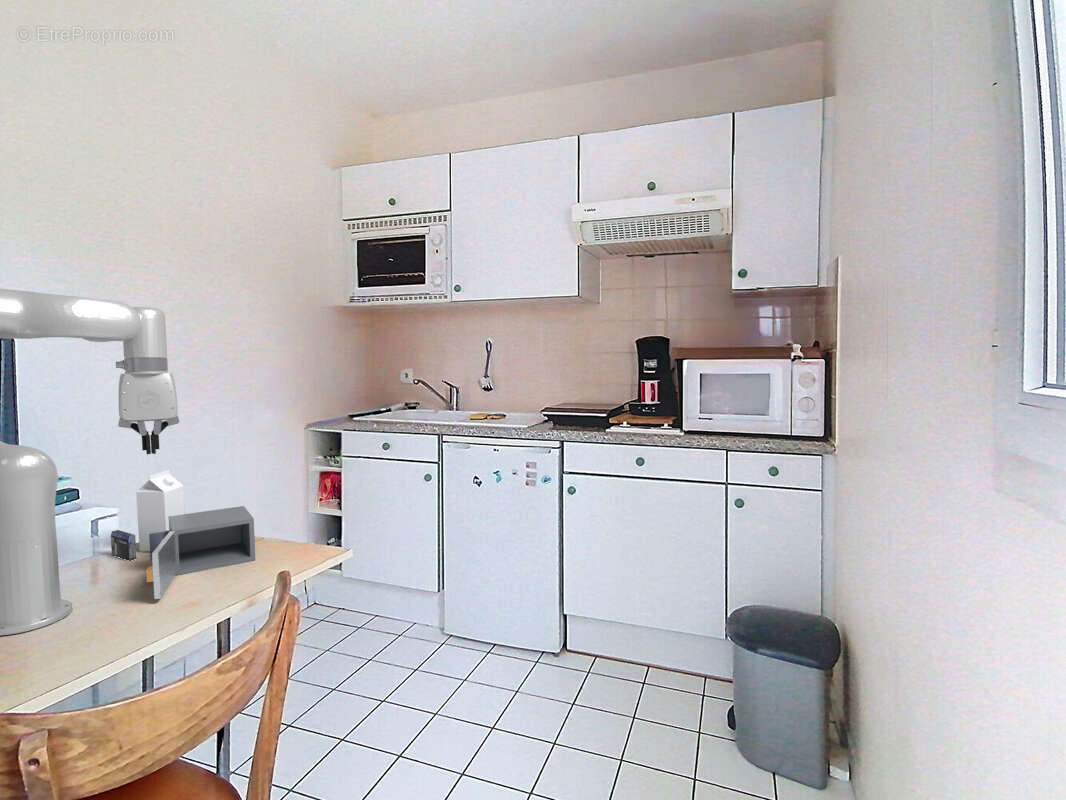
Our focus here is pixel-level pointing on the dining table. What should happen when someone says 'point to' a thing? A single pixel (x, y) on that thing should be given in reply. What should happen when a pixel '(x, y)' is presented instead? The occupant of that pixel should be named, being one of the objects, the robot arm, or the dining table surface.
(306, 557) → the dining table surface
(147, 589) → the dining table surface
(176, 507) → the milk carton
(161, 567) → the door
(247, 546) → the grey cabinet
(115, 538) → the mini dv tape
